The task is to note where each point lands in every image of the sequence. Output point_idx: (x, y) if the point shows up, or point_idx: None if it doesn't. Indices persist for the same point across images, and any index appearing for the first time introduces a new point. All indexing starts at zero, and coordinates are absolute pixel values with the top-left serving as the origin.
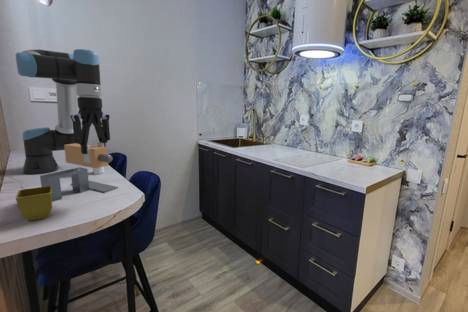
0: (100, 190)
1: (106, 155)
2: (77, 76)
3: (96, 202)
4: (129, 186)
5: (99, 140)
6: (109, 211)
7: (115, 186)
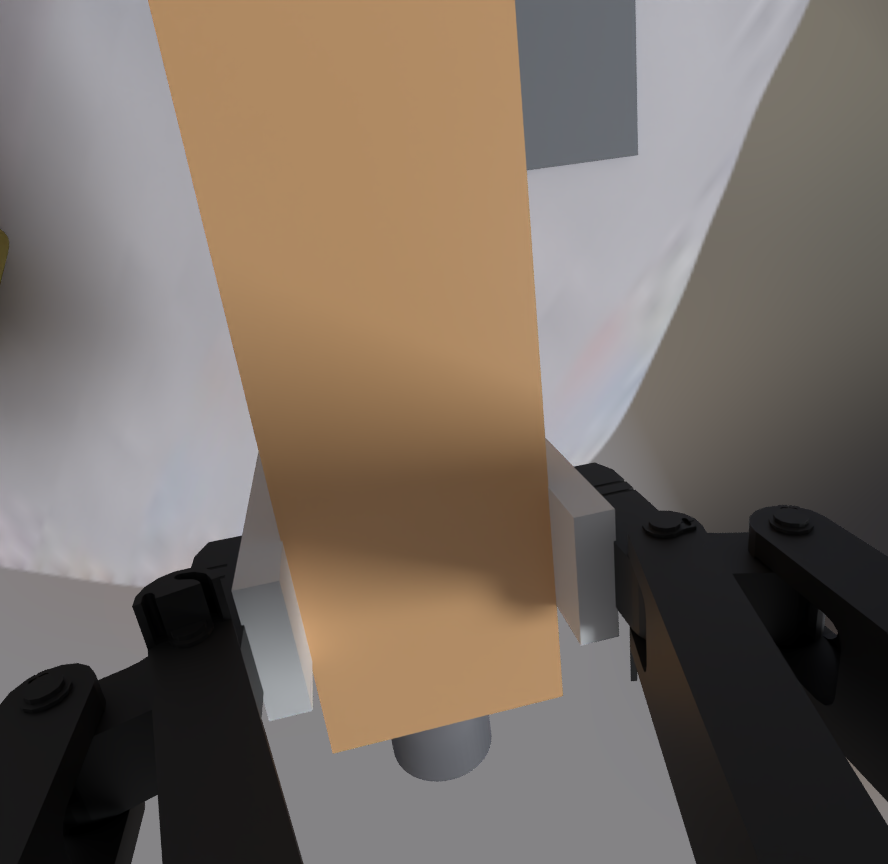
0: None
1: (428, 764)
2: None
3: None
4: (709, 195)
5: (630, 559)
6: None
7: (634, 121)
